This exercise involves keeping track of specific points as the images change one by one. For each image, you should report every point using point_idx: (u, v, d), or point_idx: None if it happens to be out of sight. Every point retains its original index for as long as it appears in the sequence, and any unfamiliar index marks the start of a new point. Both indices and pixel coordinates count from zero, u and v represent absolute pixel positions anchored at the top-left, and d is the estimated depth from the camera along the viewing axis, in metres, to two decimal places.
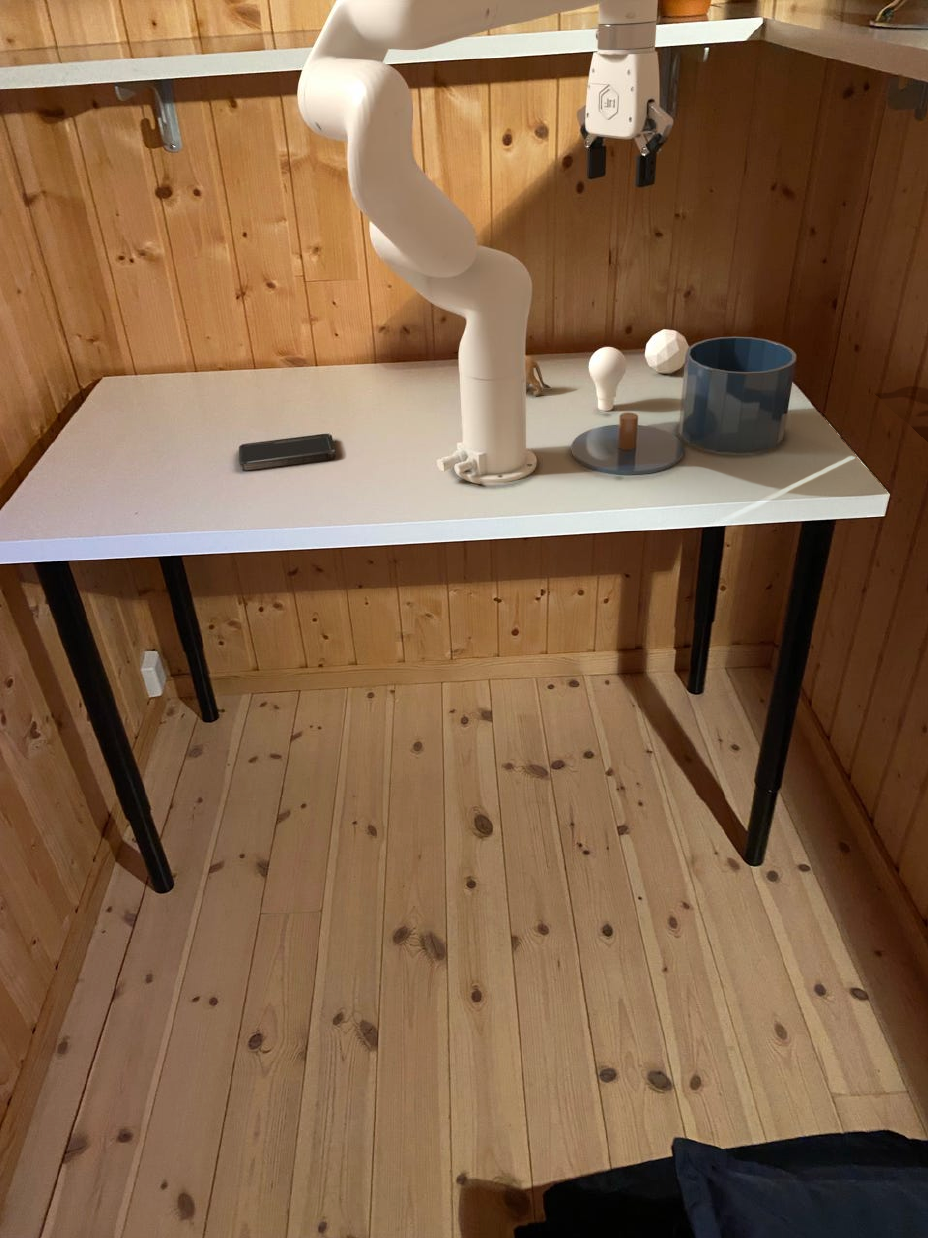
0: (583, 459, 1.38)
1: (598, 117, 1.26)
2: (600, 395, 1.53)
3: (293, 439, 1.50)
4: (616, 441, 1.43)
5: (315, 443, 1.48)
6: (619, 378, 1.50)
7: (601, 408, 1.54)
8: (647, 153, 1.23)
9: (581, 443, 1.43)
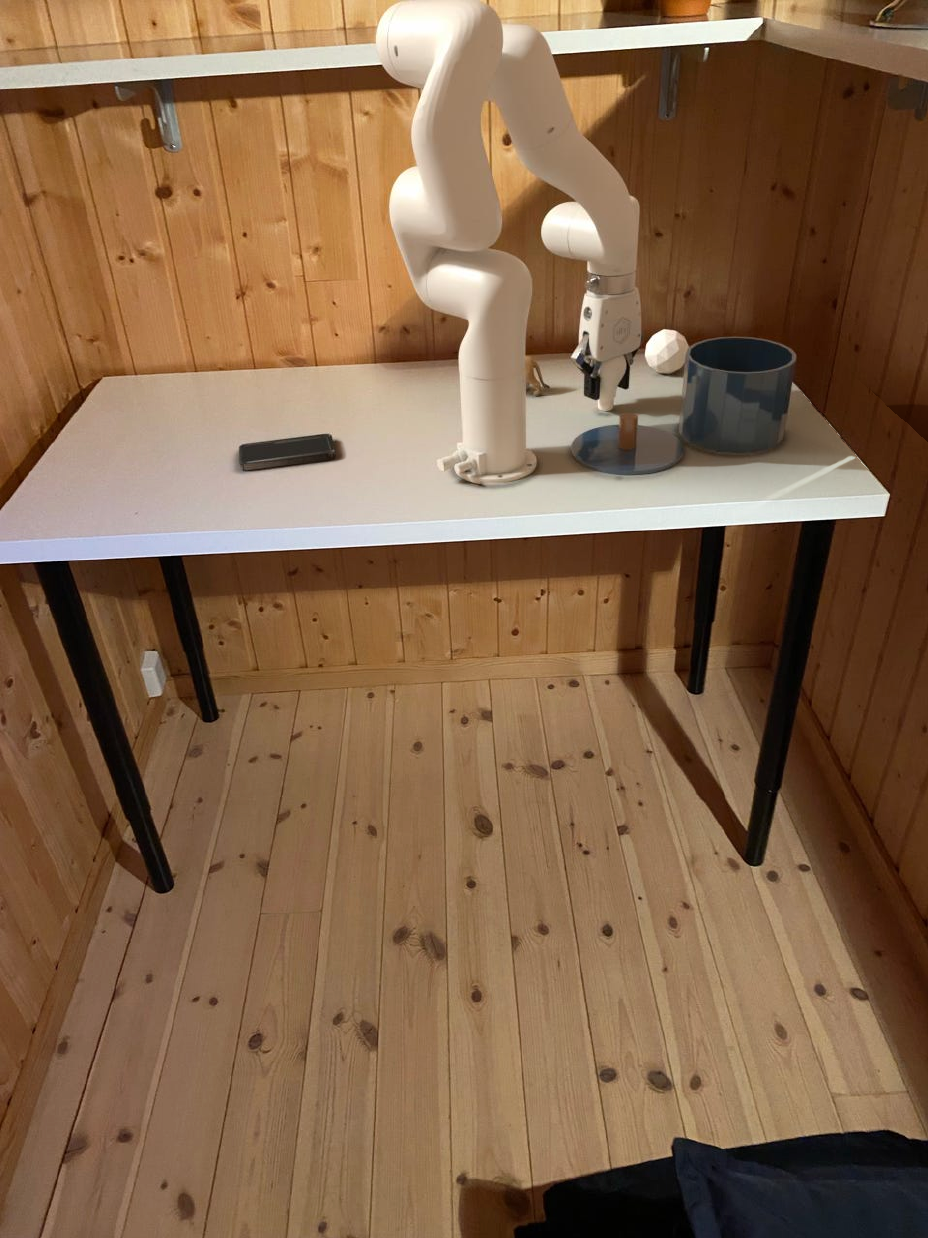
0: (583, 459, 1.38)
1: (612, 345, 1.46)
2: (600, 395, 1.53)
3: (293, 439, 1.50)
4: (616, 441, 1.43)
5: (315, 443, 1.48)
6: (619, 378, 1.50)
7: (601, 408, 1.54)
8: None
9: (581, 443, 1.43)
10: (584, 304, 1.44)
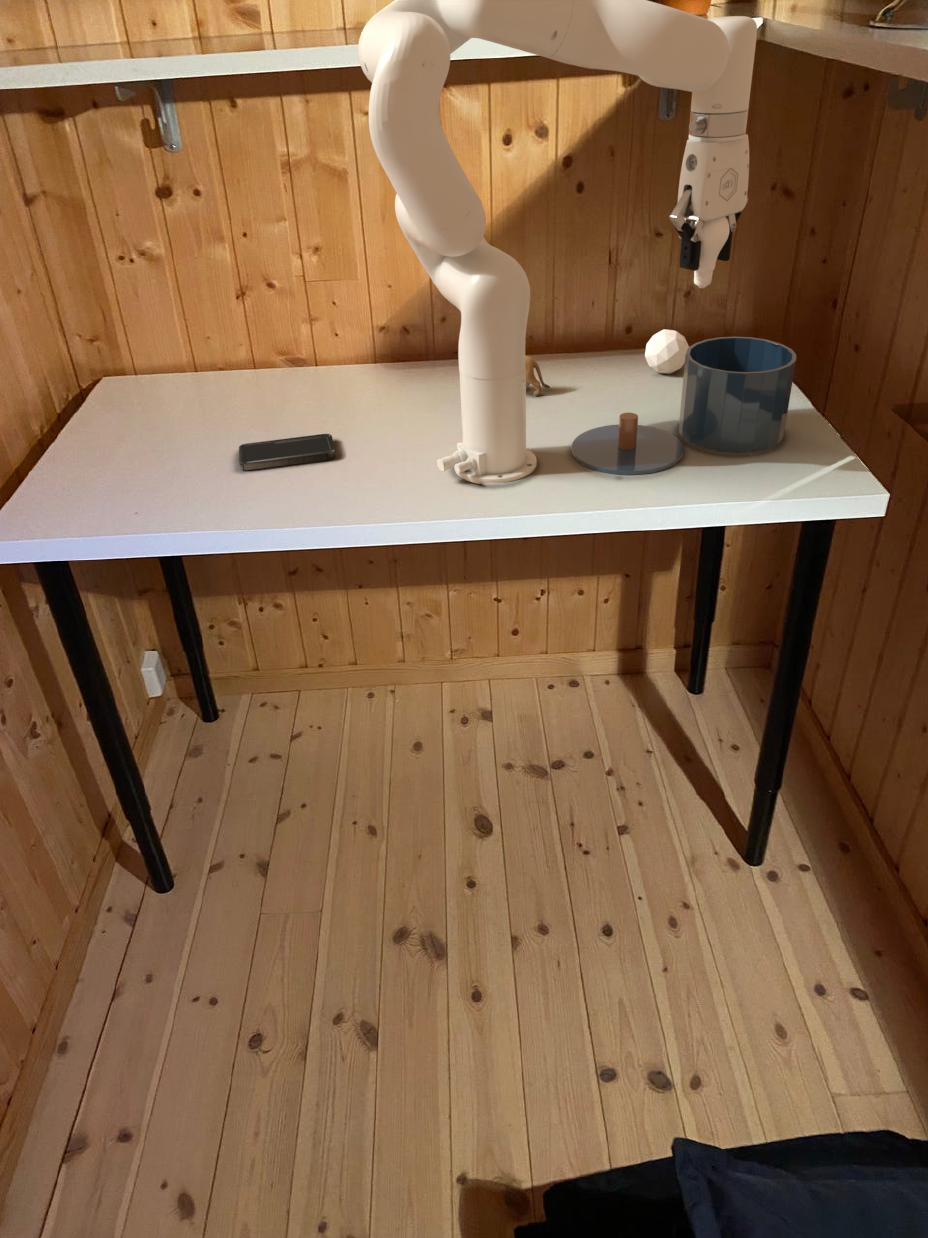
0: (583, 459, 1.38)
1: (718, 201, 1.26)
2: None
3: (293, 439, 1.50)
4: (616, 441, 1.43)
5: (315, 443, 1.48)
6: (722, 244, 1.31)
7: (698, 282, 1.35)
8: None
9: (581, 443, 1.43)
10: (687, 152, 1.24)
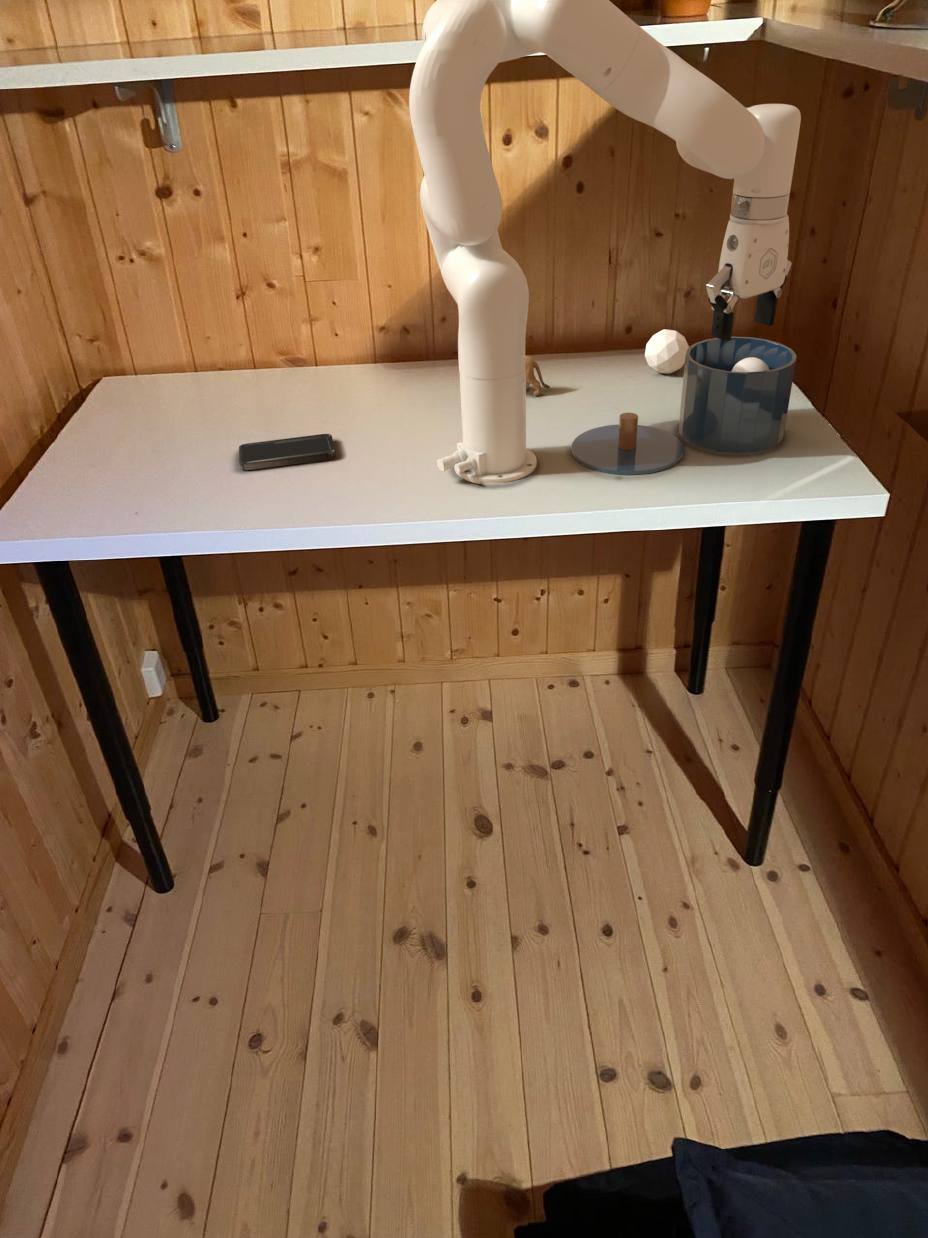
0: (583, 459, 1.38)
1: (757, 280, 1.29)
2: None
3: (293, 439, 1.50)
4: (616, 441, 1.43)
5: (315, 443, 1.48)
6: None
7: None
8: (779, 294, 1.36)
9: (581, 443, 1.43)
10: (728, 232, 1.27)
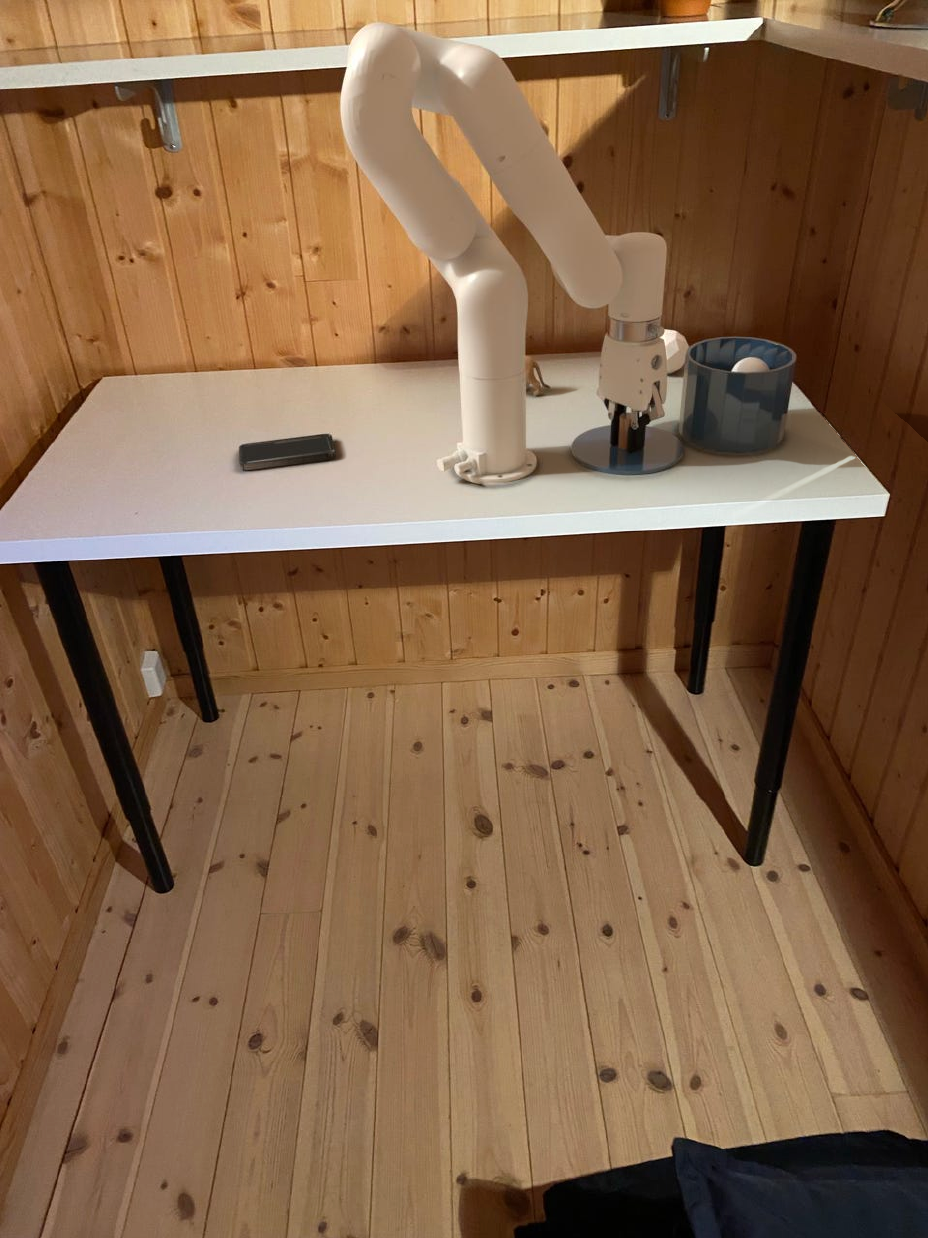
0: (583, 459, 1.38)
1: None
2: None
3: (293, 439, 1.50)
4: None
5: (315, 443, 1.48)
6: None
7: None
8: None
9: (581, 443, 1.43)
10: (650, 355, 1.29)
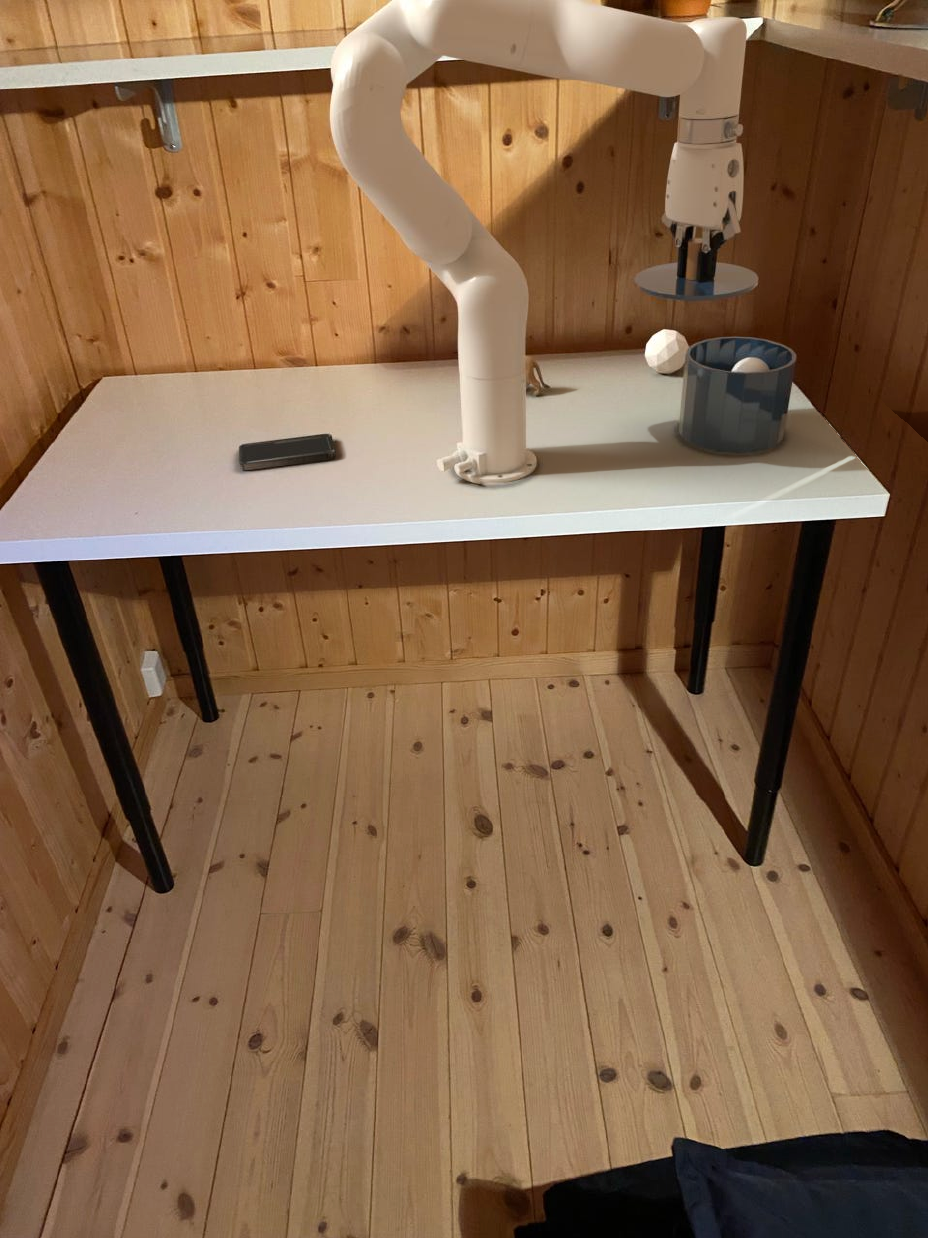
0: (649, 288, 1.27)
1: None
2: None
3: (293, 439, 1.50)
4: None
5: (315, 443, 1.48)
6: None
7: None
8: None
9: (644, 277, 1.31)
10: (726, 159, 1.17)
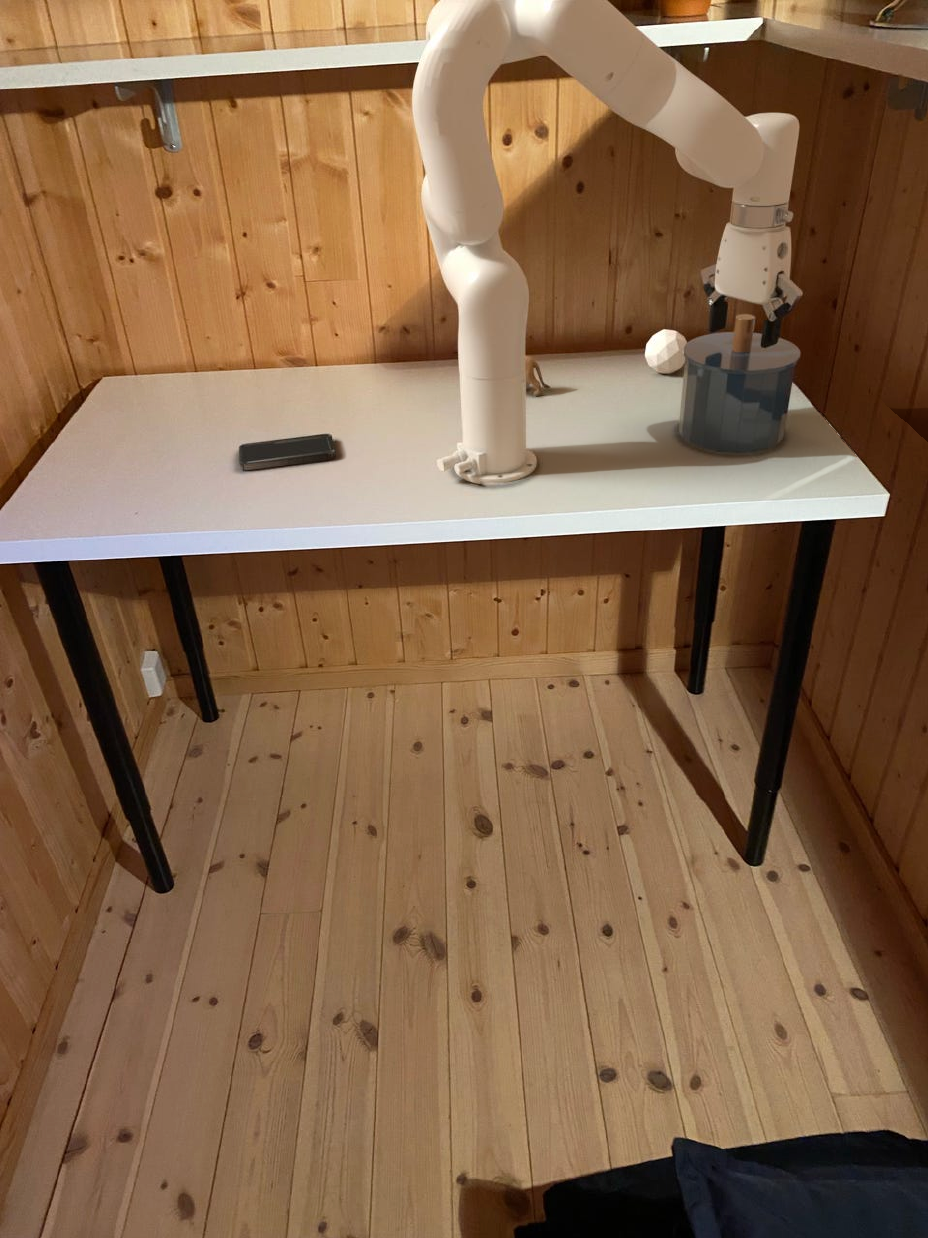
0: (699, 361, 1.35)
1: None
2: None
3: (293, 439, 1.50)
4: (729, 346, 1.40)
5: (315, 443, 1.48)
6: None
7: None
8: None
9: (693, 348, 1.40)
10: (776, 242, 1.25)
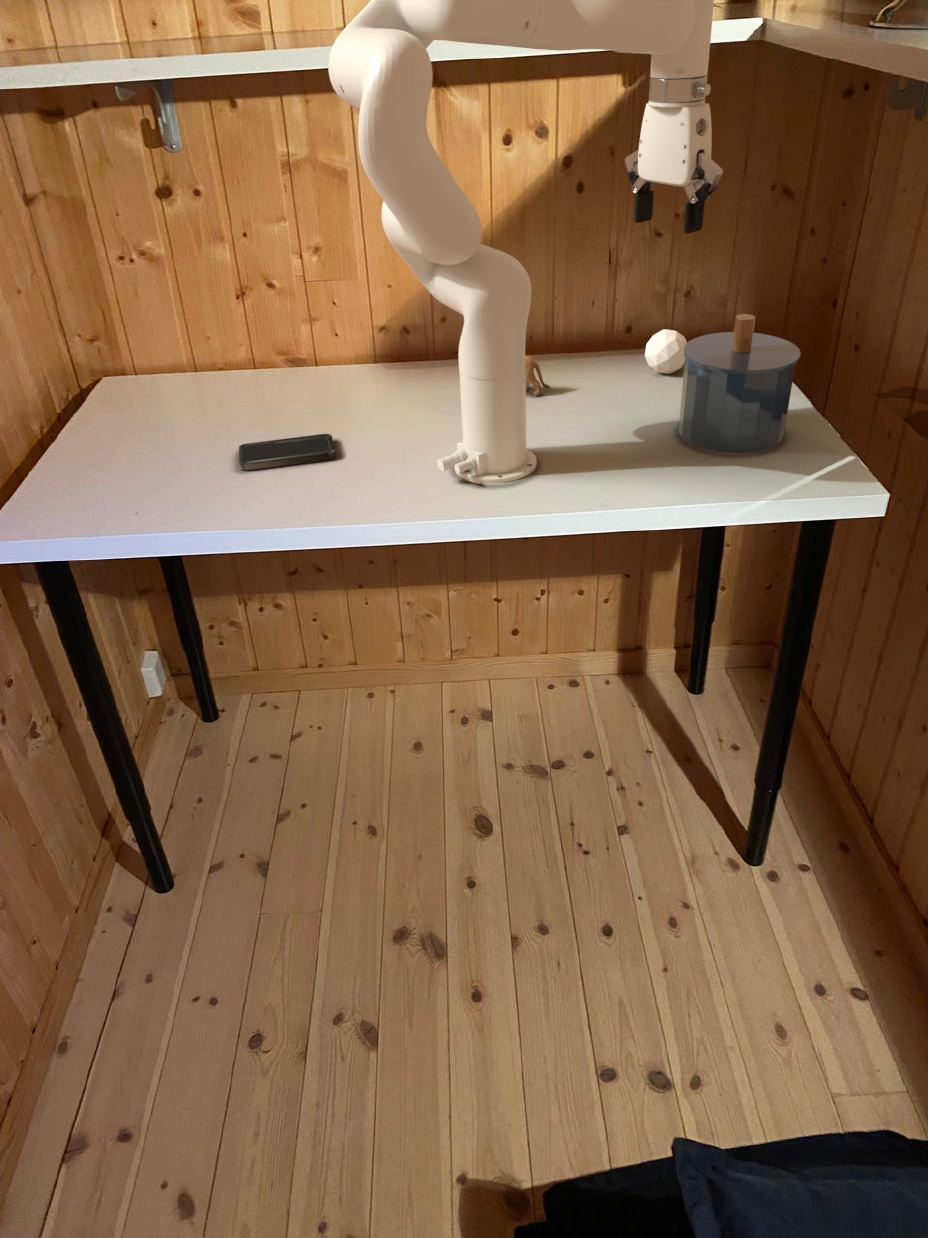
0: (699, 361, 1.35)
1: None
2: None
3: (293, 439, 1.50)
4: (729, 346, 1.40)
5: (315, 443, 1.48)
6: None
7: None
8: None
9: (693, 348, 1.40)
10: (695, 118, 1.22)
